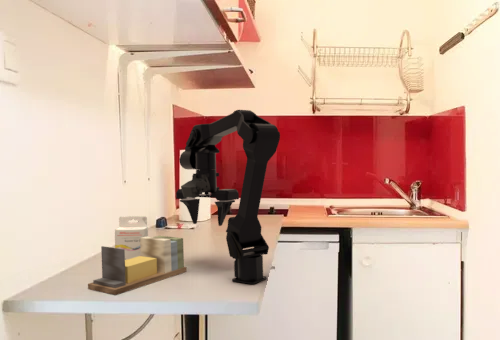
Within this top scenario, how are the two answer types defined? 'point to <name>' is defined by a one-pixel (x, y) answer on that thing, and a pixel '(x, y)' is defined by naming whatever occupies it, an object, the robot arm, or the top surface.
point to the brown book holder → (154, 247)
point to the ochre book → (139, 268)
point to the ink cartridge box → (131, 235)
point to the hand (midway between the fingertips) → (207, 224)
